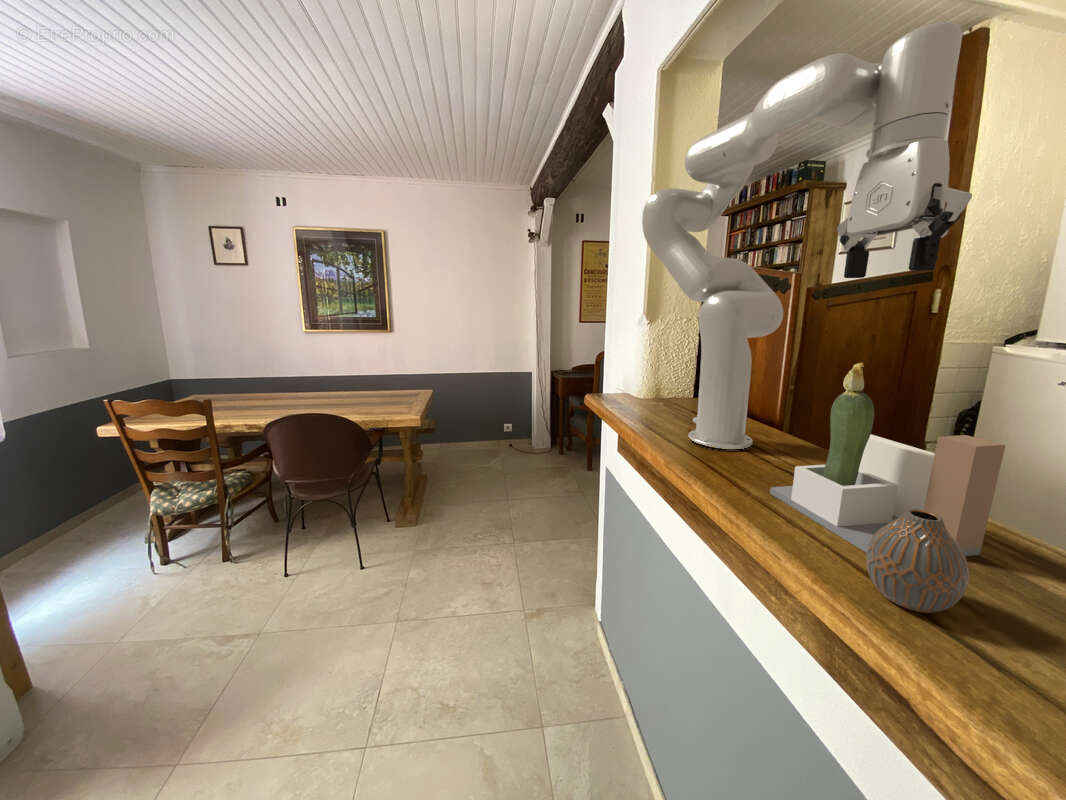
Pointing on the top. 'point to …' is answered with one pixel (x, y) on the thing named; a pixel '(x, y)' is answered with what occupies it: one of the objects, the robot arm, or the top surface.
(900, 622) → the top surface
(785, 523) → the top surface
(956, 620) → the top surface
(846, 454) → the vegetable
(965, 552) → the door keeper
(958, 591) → the vase
